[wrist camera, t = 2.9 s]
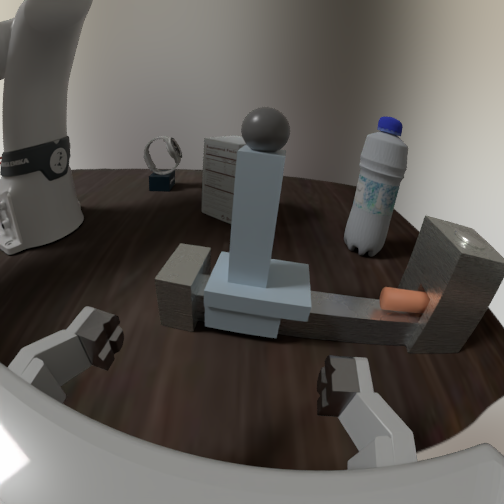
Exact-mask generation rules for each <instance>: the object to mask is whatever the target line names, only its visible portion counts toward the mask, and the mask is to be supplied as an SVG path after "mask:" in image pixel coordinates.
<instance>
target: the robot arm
mask: <svg viewBox="0 0 504 504" xmlns="http://www.w3.org/2000/svg"><path fill="white" fill-rule="evenodd" d="M91 4H92V0H24V2H23V3H22V4H21V6H20V7H19V9H18V11H17V14H16V16H15V18H13V19H10V20H7V21H3V22H0V80H1V79H4V78H5V79H4V93H3V142H4V152H3V154H2V157H0V159H2V161H1V162H0V164H1V175H2V177H1V179H0V249H1V250H3V251H4V252H5V253H7V254H8V255H11V254H14V253H17V252H20V251H22V250H24V249H27V248H31V247H36V246H41V245H44V244H48V243H51V242H53V241H56V240H58V239H60V238H62V237H64V236H66V235H68V234H70V233H71V232H73V231H74V230H75V229H77V228H78V227H79V226H80V225H81V223H82V222H83V219H84V216H83V214H82V211H81V205H80V202H79V201H78V200H77V196H76V192H75V187H74V182H73V177H72V172H71V168H70V167H69V158H70V143H69V137H68V136H67V132H66V110H67V108H66V107H67V90H68V89H67V88H68V81H69V77H70V72H71V68H72V64H73V60H74V56H75V52H76V48H77V45H78V41H79V37H80V33H81V29H82V26H83V23H84V20H85V18H86V15H87V13H88V11H89V9H90V6H91ZM119 324H120V320H119V317H118V316H116V315H113V314H110V313H107V312H104V311H101V310H98V309H95V308H92V307H89V306H87V307H84V309H83V310H82V311H81V312H80V313H79V315H78V316H77V317H76V318H75V319H74V321H73V322H72V323H71V324H70V326H69V327H68V328H67V329H66V330H61V331H59V332H57V333H54V334H52V335H50V336H48V337H45V338H43V339H41V340H39V341H37V342H34V343H32V344H30V345H28V346H25V347H23V348H22V349H21V350H20V352H19V353H18V354H17V355H16V357H15V358H14V359H13V361H12V362H11V363H10V365H9V366H8V368H7V367H6V366H4V365H3V364H2V363H0V504H504V456H503V455H502V454H501V453H500V452H499V451H498V450H497V449H496V448H494V447H493V446H492V445H490V444H488V443H483V444H479V445H477V446H474V447H471V448H468V449H465V450H462V451H458V452H455V453H452V454H448V455H444V456H440V457H436V458H431V459H427V460H423V461H417V456H416V449H415V443H414V437H413V432H412V431H411V430H410V429H409V428H408V426H407V425H406V424H405V423H404V422H403V421H402V420H401V419H400V418H399V416H398V415H397V414H396V413H395V412H394V411H393V410H392V409H391V408H390V406H389V405H388V404H387V403H386V402H385V401H384V400H383V399H382V397H381V396H380V395H379V394H378V393H374V390H373V385H372V379H371V374H370V369H369V364H368V360H367V358H359V357H346V356H331V355H328V356H327V357H326V360H325V367H323V368H321V370H320V373H319V376H318V380H317V392H318V393H319V394H320V397H319V398H318V400H317V415H320V416H335V417H338V418H339V420H340V421H341V423H342V425H343V426H344V428H345V429H346V431H347V432H348V434H349V436H350V437H351V439H352V440H353V442H354V443H355V445H356V447H357V448H358V450H359V451H360V452H358V453H357V454H356V455H355V456H353V457H352V458H351V459H350V460H349V461H348V470H333V471H311V470H288V469H275V468H265V467H256V466H249V465H242V464H235V463H230V462H224V461H219V460H214V459H209V458H205V457H200V456H196V455H192V454H188V453H184V452H180V451H177V450H173V449H170V448H166V447H163V446H160V445H157V444H154V443H151V442H148V441H145V440H142V439H139V438H136V437H134V436H131V435H129V434H126V433H123V432H121V431H118V430H116V429H114V428H111V427H109V426H107V425H104V424H102V423H100V422H98V421H96V420H93V419H91V418H89V417H87V416H85V415H83V414H81V413H79V412H77V411H75V410H73V409H71V408H70V407H68V406H66V405H64V404H63V402H64V400H65V398H66V394H65V393H64V391H63V390H62V389H61V387H60V386H62V385H63V384H65V383H66V382H68V381H69V380H71V379H72V378H74V377H75V376H77V375H78V374H80V373H81V372H83V371H84V370H86V369H87V368H89V367H90V366H91V365H94V366H96V367H99V368H102V369H105V370H107V371H108V370H109V368H110V366H111V364H112V363H113V361H114V359H115V358H114V354H115V353H117V352H119V351H120V349H121V347H122V345H123V341H124V334H123V330H122V329H121V328H120V327H119V326H118V325H119Z"/></svg>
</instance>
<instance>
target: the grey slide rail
mask: <svg viewBox="0 0 504 504" xmlns="http://www.w3.org/2000/svg"><path fill="white" fill-rule="evenodd" d="M210 274H211V248H208V247H202V246H195V245H188V244H182V243H180V245H179V246H178V247H177V249H176V250H175V252H174V253H173V254H172V256H171V257H170V258H169V260H168V261H167V262H166V264H165V265H164V267H163V268H162V269H161V271H160V272H159V274H158V275H157V276H156V278H155V286H156V294H157V301H158V308H159V315H160V321H161V325H164V326H168V327H172V328H177V329H181V330H186V331H190V332H194V329H195V327H196V324H197V322H198V321H203V322H205V306H204V289H205V287H206V285H207V282H208V280H209V278H210ZM503 278H504V258H503V257H502V256H501V255H500V254H499V253H498V252H497V251H496V250H495V249H494V248H493V247H492V246H491V245H490V244H489V243H488V242H487V241H486V240H484V239H483V238H482V237H481V236H480V235H479V234H478V233H477V232H476V231H475V230H473V229H472V228H468V227H465V226H462V225H458V224H454V223H451V222H448V221H444V220H440V219H437V218H433V217H429V216H425V218H424V221H423V224H422V227H421V230H420V233H419V236H418V239H417V241H416V244H415V247H414V250H413V252H412V255H411V257H410V260H409V263H408V265H407V268H406V270H405V273H404V275H403V277H402V280H401V282H400V284H399V287H398V289H405V290H413V291H420V292H426V293H427V295H428V297H429V298H430V301H429V303H428V305H427V307H426V309H425V311H424V313H413V312H402V311H392V310H382V309H381V308H380V300H378V299H369V298H361V297H353V296H345V295H337V294H330V293H322V292H315V291H310V293H311V310H310V314H309V317H308V320H307V322H304V321H296V320H289V319H281V321H280V325H279V329H278V334H280V335H287V336H295V337H303V338H312V339H321V340H330V341H341V342H353V343H366V344H381V345H402V346H406V348H407V351H408V353H458V352H459V351H460V349H461V348H462V347H463V345H464V344H465V342H466V341H467V340H468V338H469V337H470V335H471V334H472V332H473V331H474V329H475V328H476V326H477V324H478V323H479V321H480V320H481V318H482V316H483V315H484V313H485V311H486V310H487V308H488V306H489V304H490V303H491V301H492V299H493V297H494V295H495V294H496V292H497V290H498V288H499V286H500V284H501V282H502V280H503Z"/></svg>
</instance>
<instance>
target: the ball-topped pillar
mask: <svg viewBox="0 0 504 504" xmlns="http://www.w3.org/2000/svg"><path fill="white" fill-rule="evenodd" d="M241 132H242V137H243V140H244V141H245V143H246V144H247V145H244V146H243V147H242V148H240V149H239V150H238V151H237V161H236V173H235V185H234V197H233V210H232V224H231V238H230V253H228V252H221V254H220V256H219V258H218V260H217V263H216V265H215V267H214V269H213V271H212V273H211V276H210V278H209V280H208V282H207V285H206V287H205V289H204V306H205V327H210V328H216V329H221V330H227V331H232V332H238V333H244V334H250V335H256V336H263V337H269V338H277V334H278V329H279V325H280V321H281V319H289V320H296V321H304V322H307V320H308V317H309V314H310V310H311V293H310V279H309V266H308V264H301V263H295V262H288V261H281V260H275V259H271V254H272V247H273V240H274V234H275V227H276V220H277V213H278V206H279V199H280V192H281V185H282V178H283V171H284V163H285V156H286V151H285V150H280V149H281V148H282V147H283V146H284V145H285V144H286V143H287V141H288V138H289V135H290V126H289V123H288V121H287V119H286V117H285V116H284V115H283V114H282V113H281V112H279V111H278V110H276V109H273V108H269V107H262V108H258V109H255V110H253V111H252V112H250V113H249V114H248V115H247V116H246V117H245V119H244V121H243V124H242V129H241Z"/></svg>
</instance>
